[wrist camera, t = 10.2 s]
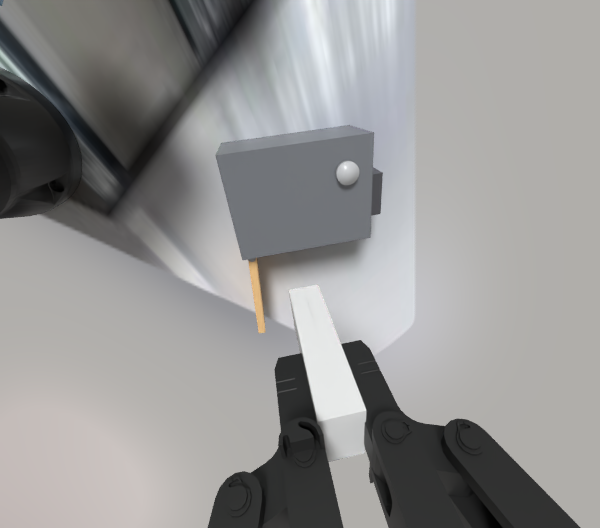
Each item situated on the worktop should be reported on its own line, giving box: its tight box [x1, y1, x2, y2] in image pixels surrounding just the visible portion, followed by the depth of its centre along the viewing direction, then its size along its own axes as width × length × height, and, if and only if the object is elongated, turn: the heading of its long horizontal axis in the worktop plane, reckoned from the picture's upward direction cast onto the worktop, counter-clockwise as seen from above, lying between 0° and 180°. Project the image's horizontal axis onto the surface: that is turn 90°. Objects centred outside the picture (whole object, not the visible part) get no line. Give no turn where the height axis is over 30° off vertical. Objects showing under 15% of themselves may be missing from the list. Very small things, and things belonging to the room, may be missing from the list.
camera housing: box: [216, 125, 383, 260], centre depth 34 cm, size 18×12×9 cm
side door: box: [248, 258, 265, 333], centre depth 41 cm, size 14×1×6 cm, turn 2°
